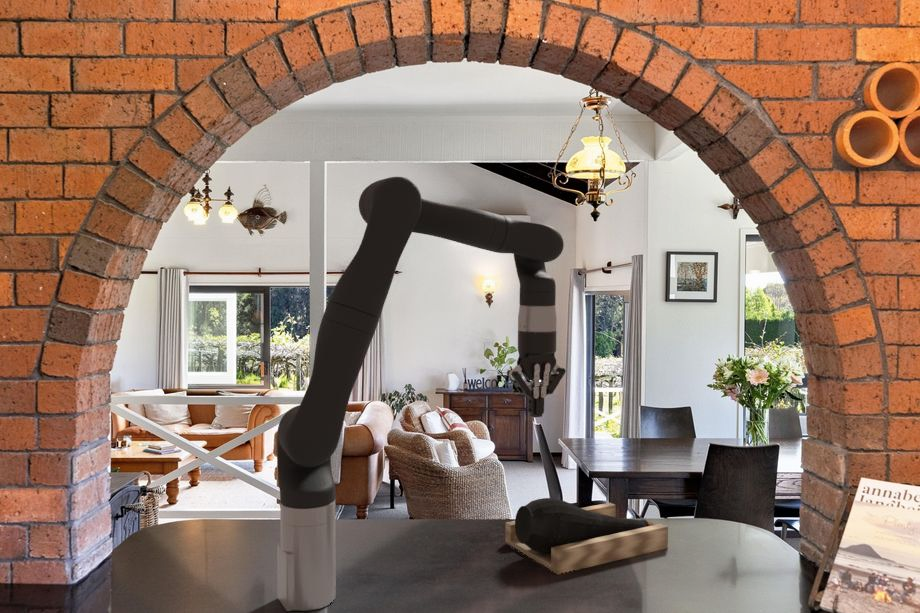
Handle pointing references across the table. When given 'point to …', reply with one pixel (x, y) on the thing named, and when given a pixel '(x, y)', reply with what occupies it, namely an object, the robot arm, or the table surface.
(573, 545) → the trough
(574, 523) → the bottle
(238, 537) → the table surface
